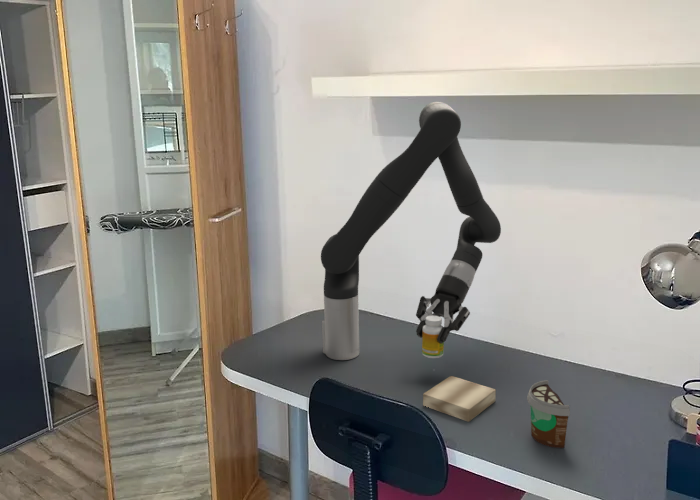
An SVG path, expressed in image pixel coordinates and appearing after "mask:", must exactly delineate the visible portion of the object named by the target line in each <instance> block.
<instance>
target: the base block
mask: <svg viewBox="0 0 700 500" xmlns="http://www.w3.org/2000/svg"><path fill="white" fill-rule="evenodd" d="M496 391H497V390H496V389H495V388H492V387H490V386H485V385H482V384H479V383H476V382H472V381H469V380H466V379H463V378H460V377H456V376H453V375H450V376H449V377H447V378H445V379H444V380H441V382H439V383H438V384H435V385H434V386H433V387H432V388H430V389H429V390H427V391H424V392H423V394H422V406H423V407H425V406H426V408H428V407H429V409H432V410H435V411H438V412H440V413H443V414H446V415H449V416H450V417H451V416H452V417H455V418H456V419H460V420H462V421H464V422H468V423H469V422H471V421H472V420H473V419H475V417H477V416H478V415H479V414H481V413H482V412H484V411H485V410H486V409H488V408H489V407H490V406H491V405H492V404H494V403H496V395H497V394H496V393H497V392H496Z"/></svg>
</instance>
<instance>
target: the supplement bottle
mask: <svg viewBox="0 0 700 500" xmlns="http://www.w3.org/2000/svg"><path fill="white" fill-rule="evenodd" d="M442 318H443V317H439V316H427V317H426V320H425V322H426V325H424V326H423V331H422V338H421V354H422V356H424V357H426V358H428V359H439V358H442V357H443V356H444V348H445V347H444V346H445V345H444V343H445V342H443V343H442V344H440V343H439V342H438V341H437V338H438V336H439V333H440V331H441V329H442V327H444V325H442V323H443V321H442Z"/></svg>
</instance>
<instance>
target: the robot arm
mask: <svg viewBox="0 0 700 500" xmlns="http://www.w3.org/2000/svg"><path fill="white" fill-rule="evenodd" d="M418 122H419V123H418V125H419V131H418V133H417V134H416V136H415V137H414V139H413V140H412V141H411V143H410V144H409V146H408V147H407V148H406V149H405V150H404V151H403V152H402V153H401V154H400V155H398V156H397V157H396V158H394V159H393V160H392V161H390V162H389V163H388V164H387V165H386V166H385V167H383V168H382V169H381V170H380V172H378V174H377V175H376V177H375V178H374V179H373V180H372V182H371V183H370V185H369V186H368V187H367V188H366V190H365V191H364V193H363V195H362V197H361V198H360V199H359V201H358V203H357V205H356V206H355V208H354V210H353V211H352V214H350V217H349V218H348V220H347V221H346V223H345V224H344V225H343V226H342V227H340V229H339V230H338V231H337V233H335V234H333V235H331V236H330V237H329V238H328V239H327V240H326V241H325V243H324V245H323V246H322V248H321V251H320V261H321V264H322V267H323V268H324V282H323V307H324V309H323V310H324V314H323V315H324V319H322V321H321V327H322V328H321V330H322V333H321V334H322V335H321V336H322V337H321V338H322V353H323V354H325V355H326V357H328V358H329V359H331V360H335V361H347V360H352V359H355V358H357V357H358V356H359V355H360V325H359V324H360V320H359V319H360V315H359V311H360V310H359V283H360V282H359V281H360V254H361V252H362V251H363V250H364V248H365V247H366V245H367V243H368V242H369V241H370V240H371V238H372V237H373V236H374V235H375V234H376V233H377V232H378V231H379V229H381V228H382V227H383V226H384V224H385V223H386V222H387V221H388V220H389V219H390V218H391V217H392V216H393V215H394V213H395V212H396V211H397V210H398V209H399V208H400V206H401V205H402V204H403V203H404V201H405V200H406V199H407V198H408V196H409V194H410V193H411V192H412V190H413V189H414V188H415V187H416V186H417V184H418V182H419V181H420V180H421V179H422V177H423V176H424V174H425V173H426V172H427V170H428V169H429V168H430V167H431V165H432V164H433V163H434V162H435V161H436V160H437V159H438V160H439V162H440V164H441V168H442V170H443V172H444V175H445V176H444V177H445V178H446V180H447V183H448V186H449V188H450V191H451V195H452V197H453V200H454V203H455V204H456V207H457V209H458V211H459V212H460V213H461V214H463V215H465V216H467V218H465V219H464V220H463V221H462V222H461V225H460V227H459V232H458V237H457V238H458V239H457V243H456V250H455V251H454V254H453V255H452V258H451V259H450V262H449V264H448V265H447V266H446V268H445V270H444V272H443V274H442V276H441V277H440V281H439V283H438V285H437V286H436V289H435V292H434V294H433V295H432V297H431V298H430V297H425V295H422V296H421V297H420V298H419V302H418V306H417V310H416V313H415V316H416V317H417V318H418V319H417V320H418V321H419V323H418V326H417V328H416V330H415V332H416V335H417V337H418V338H421V339H422V331H423V326H424V325H426V322H425V320H426V317H427V316H439V317H441V318H443V319H444V320H443V321H444V323H443V327H442V329H441V331H440V333H439V336H438V338H437V341H438V342H439V343H440V344H442V343H443V342H444V343H446V341H447V339H448V336H449V334H450V332H452V331H455V332H458V331H459V330H460V329H461V328H462V326H463V324H464V323H465V322H466V320H467V319H468V317H469V316H470V315H471V312H470V310H469V309H468V307H466V306H462V304H463V303H464V301H465V299H466V297H467V295H468V292H469V290H470V288H471V286H472V284H473V281H474V279H475V274H476V273H477V272H478V271H477V270H478V268H479V266H480V263H481V262H482V259H483V252H482V250H481V249H480V248H479V247H477V245H476V243H482V244H484V243H485V244H492V243H495V242H496V241H498V240H499V239H500V236H501V233H502V228H501V227H502V226H501V223H500V220H499V218H498V216H497V215H496V214H495V212H494V211H493V209H492V207H490V205H489V204H488V202H486V200H485V198H484V195H483V193H482V190H481V188H480V185H479V183H478V181H477V178H476V176H475V174H474V172H473V170H472V169H471V166H470V164H469V162H468V160H467V158H466V156H465V154H464V152H463V149H462V147H461V144H460V141H459V138H458V136H459V133H460V131H461V127H462V121H461V117H460V116H459V114H458V112H457V111H455V110H454V109H453V108H452V107H451V106H450V105H449V104H447V103H445V102H443V101H433V102H429V103H428V104H426V105H425V106H424V107H423V108H422V110H421V112H420V113H419V118H418ZM428 307H429V308H428ZM457 313H458V314H457ZM455 314H457V316H456V317H455V319H454V315H455Z"/></svg>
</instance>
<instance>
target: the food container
mask: <svg viewBox="0 0 700 500" xmlns="http://www.w3.org/2000/svg"><path fill="white" fill-rule="evenodd" d="M526 401H527V403H528V404H529V405H530V433H531V437H532V438H533V440H535V442H537V443H539V444H541V445H543V446H547V447H551V448H556V449H563V448H565V445H566V436H567V428H568V420H569V417H570V416H571V414H570V413H571V411H570V410H571V409H570V405H569V404H564V402H563V400H561V398H560V396H559V395H558V393H556V392H555V391H554V390H553V389H552V388H551V386H550V385H549V380H548V379H547V380H541V381H538V382H535V383H533V384H532V385H531V387H530V389H529V391H528V393H527V397H526Z"/></svg>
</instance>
